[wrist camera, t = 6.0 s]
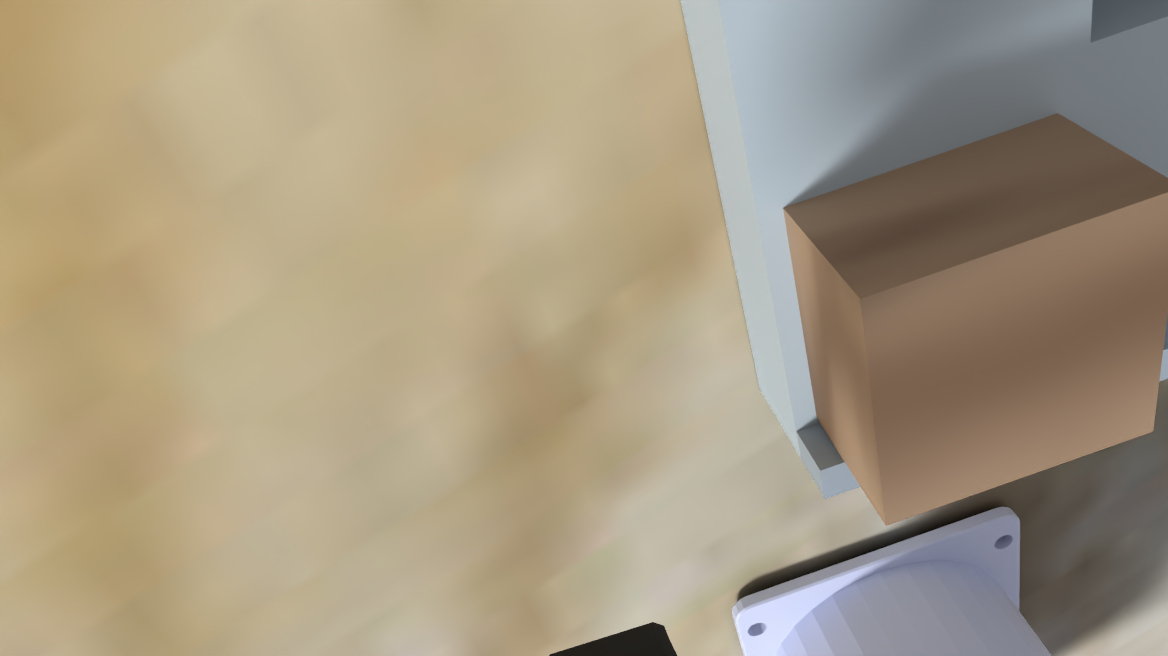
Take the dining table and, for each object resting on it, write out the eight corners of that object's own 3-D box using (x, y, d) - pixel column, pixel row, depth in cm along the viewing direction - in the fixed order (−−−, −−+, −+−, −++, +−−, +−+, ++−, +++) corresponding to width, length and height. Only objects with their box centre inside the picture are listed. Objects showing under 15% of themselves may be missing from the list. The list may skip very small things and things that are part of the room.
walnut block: (1050, 337, 19) (1153, 431, 17) (817, 419, 19) (886, 525, 17) (1057, 113, 16) (1183, 187, 14) (782, 208, 16) (859, 298, 14)
